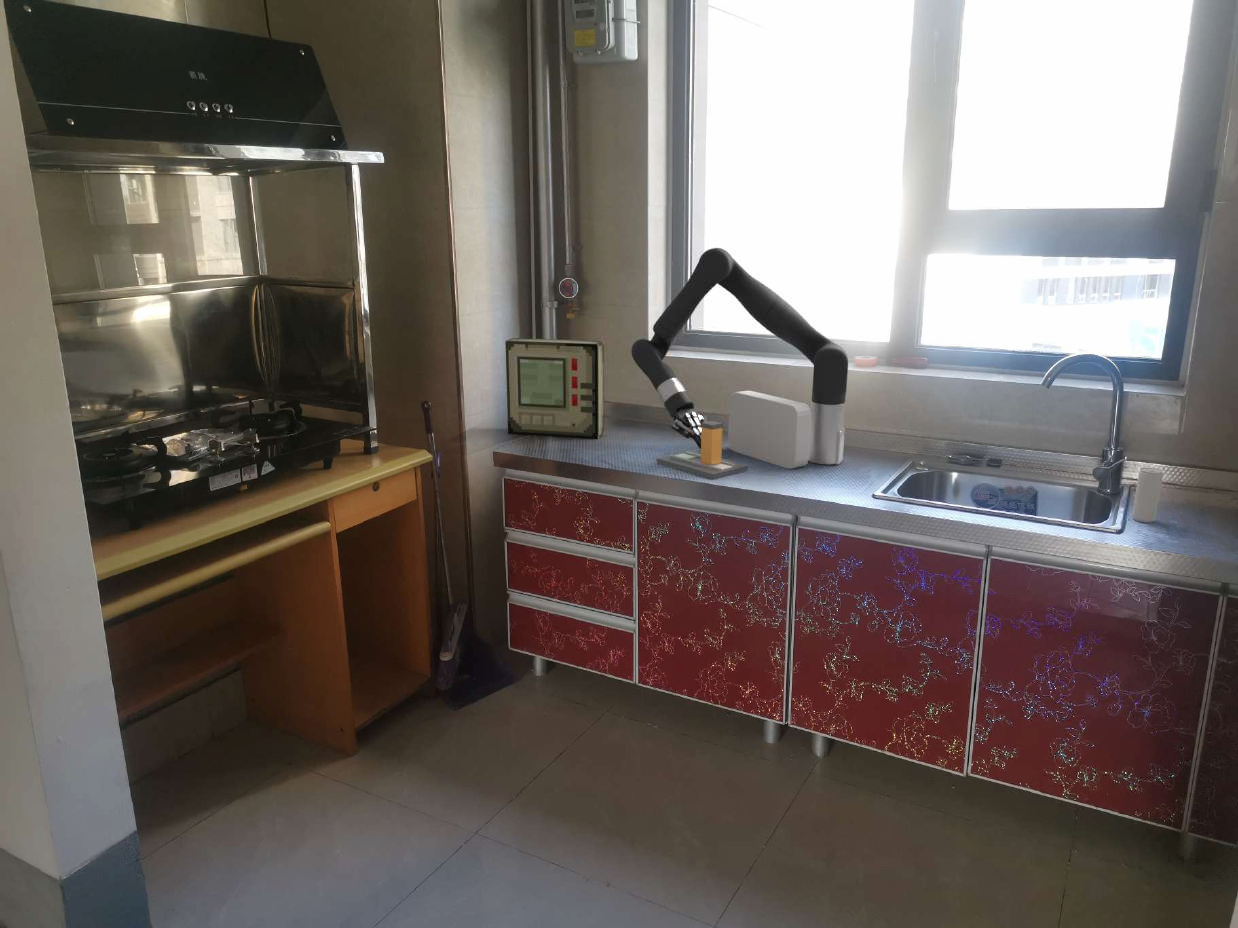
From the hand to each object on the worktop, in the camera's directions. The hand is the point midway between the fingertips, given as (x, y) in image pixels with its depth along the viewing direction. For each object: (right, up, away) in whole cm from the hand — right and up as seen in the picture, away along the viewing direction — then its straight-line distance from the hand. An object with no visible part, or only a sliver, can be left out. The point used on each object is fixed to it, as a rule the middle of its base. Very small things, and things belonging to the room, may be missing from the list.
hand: (704, 447), depth 253 cm
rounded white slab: (+19, -3, +12) cm, 23 cm away
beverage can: (+98, -18, -42) cm, 108 cm away
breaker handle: (+2, -4, -1) cm, 5 cm away
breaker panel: (-1, -5, +2) cm, 6 cm away
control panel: (-44, +5, +41) cm, 60 cm away
